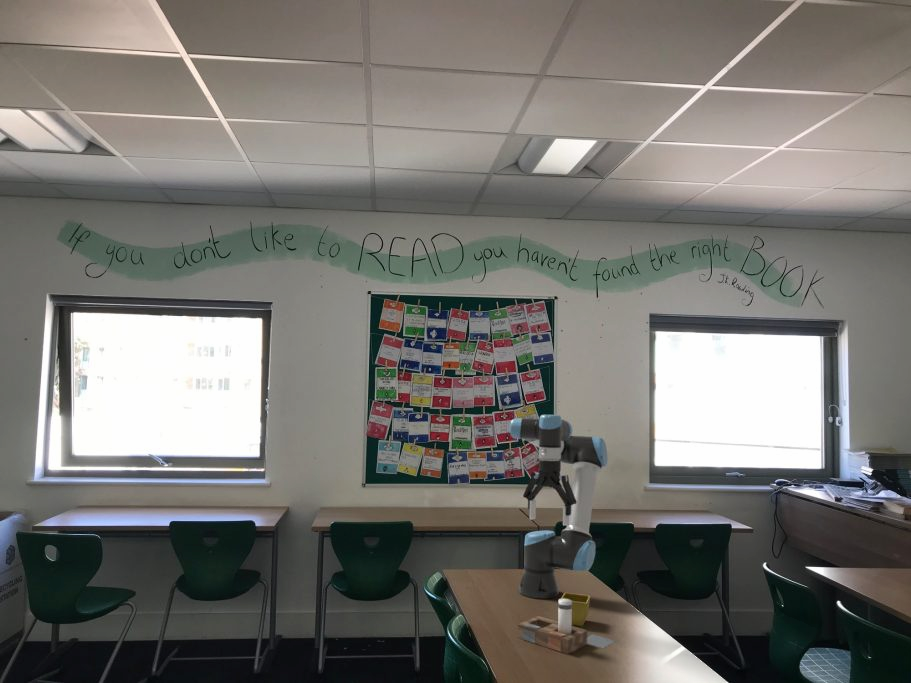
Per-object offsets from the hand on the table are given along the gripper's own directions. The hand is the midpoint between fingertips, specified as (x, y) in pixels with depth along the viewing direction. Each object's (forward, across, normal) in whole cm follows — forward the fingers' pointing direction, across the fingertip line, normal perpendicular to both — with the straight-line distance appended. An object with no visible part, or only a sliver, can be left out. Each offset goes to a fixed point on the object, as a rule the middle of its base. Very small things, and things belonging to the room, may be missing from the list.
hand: (548, 522), depth 224 cm
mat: (+33, +23, -7) cm, 41 cm away
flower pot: (+33, +9, +3) cm, 34 cm away
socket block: (+33, +13, -17) cm, 39 cm away
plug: (+33, +18, -17) cm, 41 cm away
